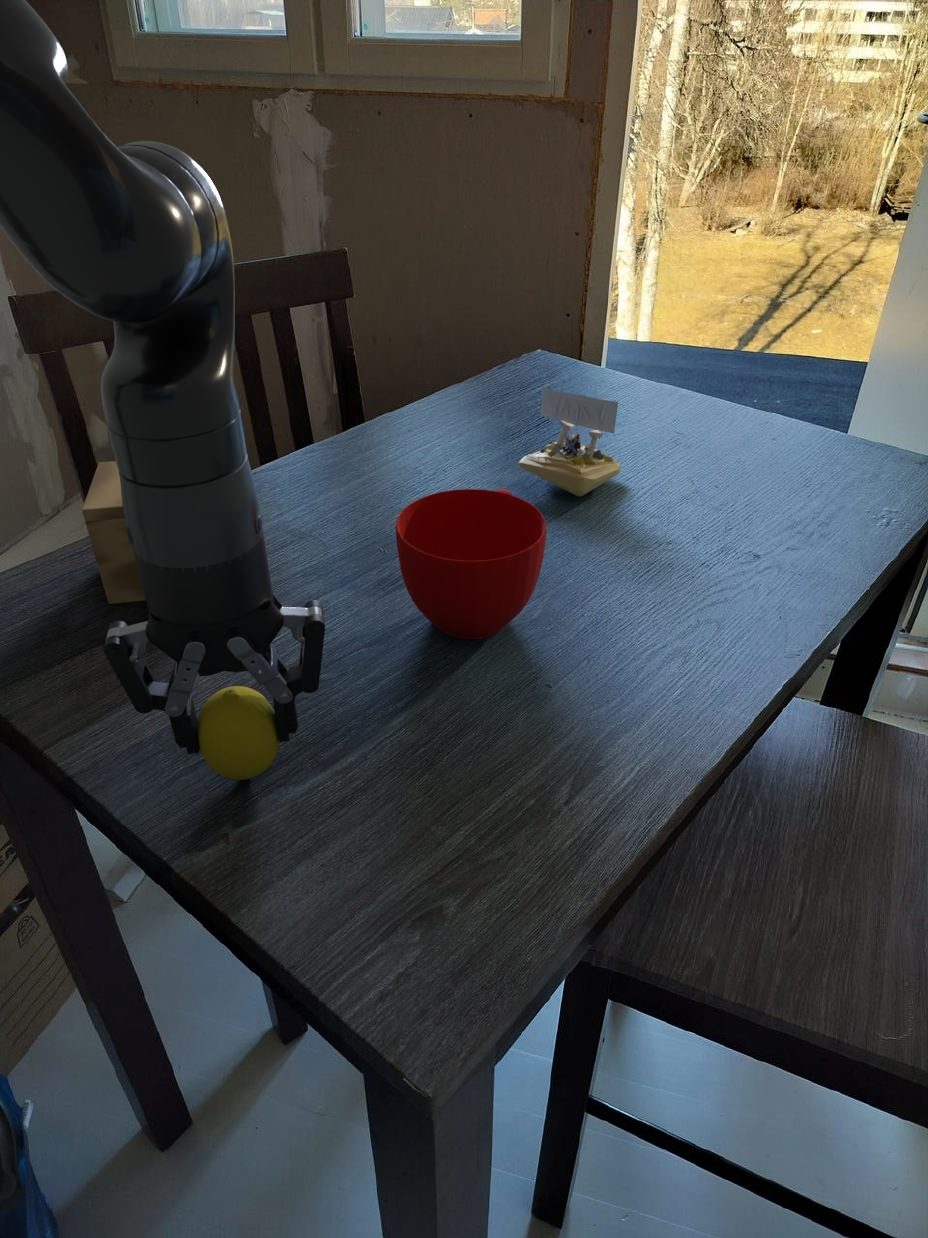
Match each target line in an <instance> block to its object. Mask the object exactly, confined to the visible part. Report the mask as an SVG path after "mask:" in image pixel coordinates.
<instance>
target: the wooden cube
mask: <svg viewBox="0 0 928 1238" xmlns="http://www.w3.org/2000/svg"><path fill="white" fill-rule="evenodd" d="M81 513H82V516H83V518H84V522H85V525H86V526H85V527H86V530H87V533H88V536H89V540H90V544H91V547H92V551H93V553H94V558H95V562H96V564H97V568H98V572H99V574H100V578H101V582H102V585H103V588H104V589H103V590H104V592H105V595H106V600H107V603H108V605H113V604H124V603H134V602H145V601H146V598H145V594H144V590H143V586H142V582H141V578H140V574H139V570H138V566H137V562H136V558H135V554H134V550H133V546H132V544H131V543H130V541H129V538H128V534H127V530H126V519H125V514H124V510H123V505H122V496H121V484H120V477H119V472H118V468H117V464H116V460H111V461H109V460H108V461H98V464H97V466H96V469H95V471H94V474H93V478H92V480H91V483H90V486H89V489H88V491H87V495H86V498H85V500H84V503H83V506H82V508H81Z"/></svg>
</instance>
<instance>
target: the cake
mask: <svg viewBox="0 0 928 1238" xmlns="http://www.w3.org/2000/svg"><path fill="white" fill-rule="evenodd" d="M540 404H541V405H540V415H539V416H540V417H542V418H543V417H544V418H548V419H552V420H559V421H561V422H560V424H559V427H561V431H560V432H559V433H560V434H559V436H558V439H557V441H555V440H552V441H550V442H549V444H547V445H545V446H544V447H543V448H541V449H540V450H538V451H536V452H532V453H528V454H526V455H525V456H523V457H522V458H521V459H520V460H519V461H518V463H517V465H518V466H519V468H521V469H522V470H523V469H524V470H525V471H527V472H529V473H531V474H533V475H535V476H537V477H539V478H541V479H543V480H545V481H547V482H548V483H551V484H553V485H554V486H556V487H558V488H560V489H563V490H564V491H566V492H568V493H569V494H572V495H574V496H576V497H582V496H585V495H586V494H588V493H589V492H591V491H592V490H594V489H596V488H598V487H599V486H601V485H602V484H605V483H606V482H608V481H610V480H611V479H613V478H614V477H616V476H617V475H619V474H620V472H621V467H622V466H621V464H620V463H619V462H617V461H616V460H614V458H613V456H611V455H609V454H608V453H605V452H604V451H601V450H602V449H599V448H596V445H597V442H598V439H599V440H600V439H601V438H602V437H603V432H605V433H610V434H615V429H616V422H617V415H618V408H619V402H618V401H613V400H606V399H601V398H596V397H591V396H587V395H585V394H574V393H569V392H564V391H558V390H554V389H551V388H550V389H549V388H546V387H542V393H541V403H540ZM575 426H578V427H579V426H580V427H583V428H587V429H592V430H589V431H588V435H589V437H590V443H589V442H588V443H587V444H586V445H584V444H582V442H581V439H580V436H581V433H576V434H571V436H569V435H568V433H569V431H572V430H573V429H574V428H575ZM436 446H438V447H441V445H440V444H439V443H438V444H437V445H436Z"/></svg>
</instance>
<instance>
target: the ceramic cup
mask: <svg viewBox="0 0 928 1238" xmlns="http://www.w3.org/2000/svg"><path fill="white" fill-rule="evenodd" d="M394 530H395V540H396V541H395V542H396V548H397V555H398V556H397V557H398V562H399V567H400V572H401V577H402V580H403V583H404V586H405V589H406V590H407V592H408V594H409V596H410V598H411V600H412V602H413V604H414V605H415V607H416V608H417V609H418V611H419V612H420V613H421V614H422V616H424V617H425V618H426V619H427V620H428V621H429V622H431V624H433V625H434V626H435V627H436V628H438V629H439V630H440V631H441V632H442V633H443V634H446V635H447V636H450V637H453V638H456V639H462V640H479V639H485V638H488V637H491V636H493V635H495V634H497V633H498V632H500V631H501V630H502V629H503V628H504V627H505V626H506V625H508V624H509V623H510V622H512V621H513V620H514V619H515V618H516V617H517V616H518V615H519V614H520V613H521V612H522V611H523V610H524V608H525V606H526V605H527V604H528V602H529V601H530V600H531V597H532V595H533V594H534V592H535V589H536V586H537V583H538V580H539V578H540V574H541V571H542V565H543V563H544V556H545V550H546V541H547V533H548V532H547V521H546V519H545V517H544V515H543V513H542V512H541V511H540V510H539V508H537V507H536V506H535V505H533V504H532V503H531V502H529V501H527V500H525V499H522V498H520V497H518V496H515V495H514V494H513V493H512V492H511V491H510V490H508V489H504V488H500V489H497V490H489V489H483V488H482V489H480V488H479V489H478V488H462V489H461V488H460V489H451V490H444V491H439V492H436V493H432V494H428V495H426V496H423V497H421V498H418V499H416V500H415V501H413V502H411V503H409V504H408V505H407V506H406V507H405V508H403V509H402V510H401V512H400V513H399V515H398V516H397V519H396V523H395V529H394Z"/></svg>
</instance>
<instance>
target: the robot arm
mask: <svg viewBox="0 0 928 1238" xmlns="http://www.w3.org/2000/svg"><path fill="white" fill-rule="evenodd" d="M66 57H67V56H66V54H65V51H64V48H63V47H62V45H61V43H60V42H59V40H58V39H57V37H56V36H55V34H54V33H53V32H52V30H51V29H50V27H49V26H48V25H47V24H46V22H45V21H44V20H43V18H42V17H41V16H40V15H39V13H37V12H36V10H35V9H34V7H32V6H31V4H29V2H28V1H27V0H0V228H1V230H2V231H3V233H4V234H5V235H6V237H8V239H9V240H10V241H11V243H12V244H13V245H14V247H15V248H16V250H17V251H18V252H19V253H20V255H21V256H22V257H23V259H25V261H26V262H27V264H28V265H30V267H32V268H33V270H34V271H35V272H36V273H37V274H38V275H39V276H40V278H42V279H43V280H44V281H45V282H46V283H47V284H48V285H49V286H51V288H53V289H54V290H56V291H57V293H59V294H60V295H62V296H63V298H66V299H67V300H69V301H70V302H71V303H73V304H74V305H76V306H78V307H79V308H81V309H83V310H84V311H86V312H87V313H90V314H91V315H94V316H96V317H99V318H101V319H103V320H106V321H110V322H113V329H114V343H113V349H112V352H111V355H110V357H109V359H108V361H107V363H106V365H105V367H104V369H103V371H102V375H101V377H100V398H101V405H102V409H103V410H102V411H103V415H104V419H105V423H106V427H107V428H106V429H107V432H108V436H109V439H110V442H111V444H110V445H111V447H112V451H113V456H114V459H115V460H114V461H116V464H117V468H118V472H119V477H120V484H121V496H122V505H123V510H124V514H125V519H126V530H127V534H128V538H129V541H130V543H131V544H132V546H133V550H134V554H135V558H136V562H137V566H138V570H139V574H140V578H141V582H142V586H143V590H144V594H145V598H146V600H145V601H146V605H147V606H146V607H147V609H148V615H147V619H146V621H143V622H138V623H133V624H130V625H128V624H127V622H124V621H121V620H114V621H112V622H111V623H110V624H109V625H108V630H107V633H106V636H105V641H104V646H103V653H104V656H105V657H106V659H107V661H108V663H109V665H110V666H111V668H112V670H113V672H114V673H115V675H116V677H117V679H118V681H119V682H120V684H121V686H122V688H123V690H124V691H125V694H126V695H127V697H128V699H129V700H130V703H131V704H132V706H133V708H134V710H135V711H136V712H137V713H140V714H150V713H152V712H153V710H156V711H161V712H163V713H165V714H166V715H167V716H168V718H169V722H170V726H171V729H172V734H173V736H174V737H173V738H174V740H175V741H174V742H175V744H176V745H177V746H178V747H179V748H180V749H183V748H186V750H187V754H188V755H194V754H199V753H200V752H201V750H200V747H199V743H198V720H199V719H198V717H197V713H196V708H195V703H194V699H193V696H192V691H193V688H194V685H195V682H196V679H197V676H199V677H207V676H214V675H217V674H219V673H222V672H228V673H229V672H230V673H243V672H248V673H249V674H250V675H251V676H252V678H253V679H254V680H255V681H256V682H257V684H258V685H259V686H263V687H264V688H265V689H266V690H267V691H268V693H269V694H270V695H271V697H272V707H273V711H274V713H275V718H276V724H277V730H278V736H279V743H283V742H285V743H286V742H290V734H296V733H297V731H298V727H299V723H298V722H299V720H298V710H297V704H296V697H297V696H298V695H299V694H301V693H306V694H313V693H315V692H317V691H318V690H319V687H320V678H321V671H322V670H321V669H322V660H323V652H324V651H323V650H324V642H325V634H326V633H325V632H326V623H325V614H324V607H323V603H322V602H320V601H319V600H316V599H312V600H308V601H307V602H306V603H305V604H304V607H295V606H294V607H293V606H283V604H282V603H281V602H280V600H279V599H278V598H277V597H276V595H275V594H274V592H273V587H272V586H273V585H272V580H271V572H270V565H269V561H268V553H267V547H266V539H265V534H264V533H265V532H264V527H263V516H262V514H261V513H262V512H261V507H260V501H259V500H260V499H259V494H258V489H257V486H256V485H257V484H256V481H255V478H254V475H253V471H252V468H251V465H250V461H249V456H248V452H247V451H248V450H247V444H246V438H245V432H244V426H243V421H242V412H241V405H240V400H239V395H238V391H237V387H236V382H235V375H234V360H235V359H234V357H235V355H234V354H235V334H236V326H235V325H236V324H235V323H236V321H235V319H236V317H235V315H236V313H235V312H236V309H235V308H236V307H235V306H236V303H235V301H236V300H235V298H236V297H235V296H236V295H235V293H236V292H235V290H236V287H235V262H234V260H235V259H234V250H233V242H232V235H231V230H230V225H229V221H228V217H227V213H226V209H225V207H224V204H223V201H222V198H221V196H220V194H219V192H218V190H217V188H216V186H215V184H214V183H213V181H212V180H211V178H210V176H209V175H208V174H207V172H206V171H205V170H204V169H203V168H202V167H201V166H200V165H199V164H198V163H197V162H196V161H195V159H193V158H192V157H191V156H190V155H188V154H186V153H185V152H184V151H183V150H180V149H179V148H178V147H174V146H172V145H171V144H167V143H164V142H159V141H153V140H136V141H131V142H127V143H123V144H120V145H115V144H114V143H113V142H112V141H111V139H110V138H109V137H108V136H107V135H106V134H105V133H104V132H103V131H102V130H101V128H100V127H99V126H98V125H97V124H96V122H95V121H94V120H93V118H92V117H91V116H90V115H89V113H88V112H87V111H86V109H84V107H83V106H82V105H81V103H80V102H79V101H78V99H77V98H76V97H75V95H74V94H73V93H72V92H71V90H70V88H68V86H67V83H68V77H69V76H68V75H69V73H68V72H69V66H68V61H67V58H66ZM283 627H285V628H288V629H289V630H290V632H291V636H292V638H293V640H294V641H297V642H298V643H299V644H300V652H299V662H298V665H296V666H292V667H290V668H289V667H288V666H287V664H286V663H285V661H283V659H282V658H281V656H280V655H279V653H278V650H277V648H276V646H275V644H274V643H273V642H274V641H275V639H276V637H277V636H278V634H279V633H280V632H281V630H282V629H283ZM149 642H150V643H151V644H152V645H153V646H155V647H156V648H157V649H158V650H160V651H161V652H163V654H165V655H167V656H168V657H169V658H171V659H172V660H173V661H174V664H173V668H172V671H171V673H170V674H171V675H170V678H169V681H168V683H166V682H160V681H158V680H157V678H156V676H155V675H154V673H153V671H152V669H151V667H150V665H149V663H148V661H147V659H146V657H145V653H146V647H147V643H149Z"/></svg>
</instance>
